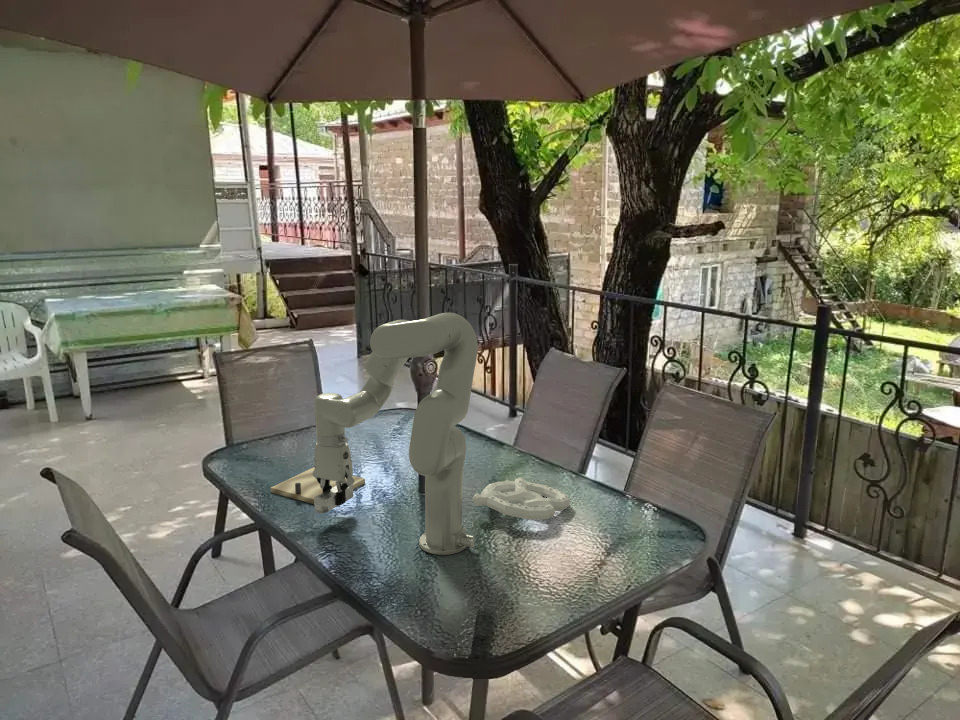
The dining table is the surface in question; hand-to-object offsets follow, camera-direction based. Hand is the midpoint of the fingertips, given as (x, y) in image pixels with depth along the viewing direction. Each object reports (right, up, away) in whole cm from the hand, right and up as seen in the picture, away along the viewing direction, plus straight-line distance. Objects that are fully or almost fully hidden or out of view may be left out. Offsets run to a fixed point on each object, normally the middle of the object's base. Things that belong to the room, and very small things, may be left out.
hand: (334, 501), depth 193 cm
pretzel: (+52, -4, +10) cm, 53 cm away
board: (-10, 0, +23) cm, 25 cm away
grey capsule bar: (0, 0, 0) cm, 0 cm away
